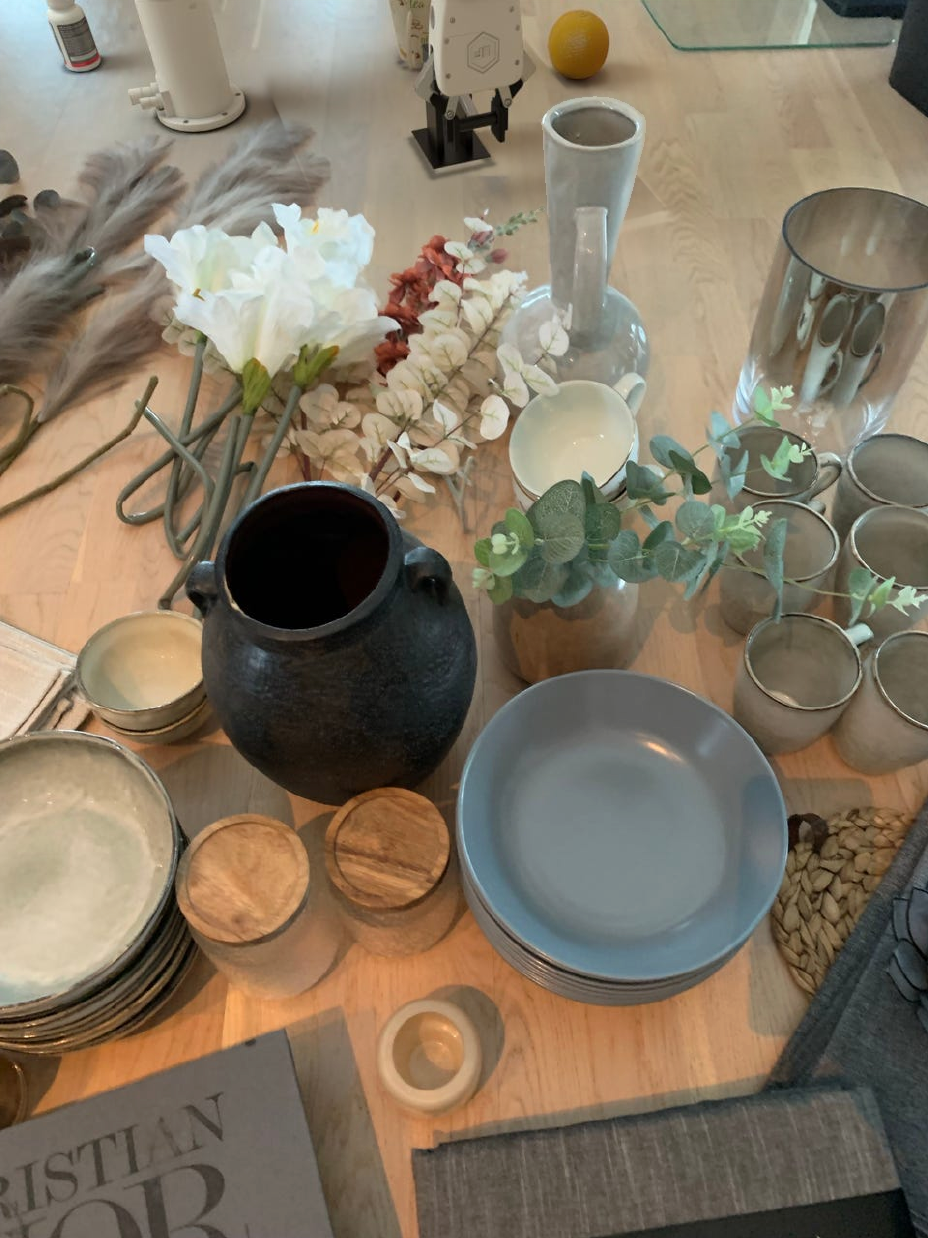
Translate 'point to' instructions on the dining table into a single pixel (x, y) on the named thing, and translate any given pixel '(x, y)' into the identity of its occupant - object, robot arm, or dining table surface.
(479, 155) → the black lever stand
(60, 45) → the pill bottle
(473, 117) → the lever
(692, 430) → the dining table surface
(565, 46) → the fruit
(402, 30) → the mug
